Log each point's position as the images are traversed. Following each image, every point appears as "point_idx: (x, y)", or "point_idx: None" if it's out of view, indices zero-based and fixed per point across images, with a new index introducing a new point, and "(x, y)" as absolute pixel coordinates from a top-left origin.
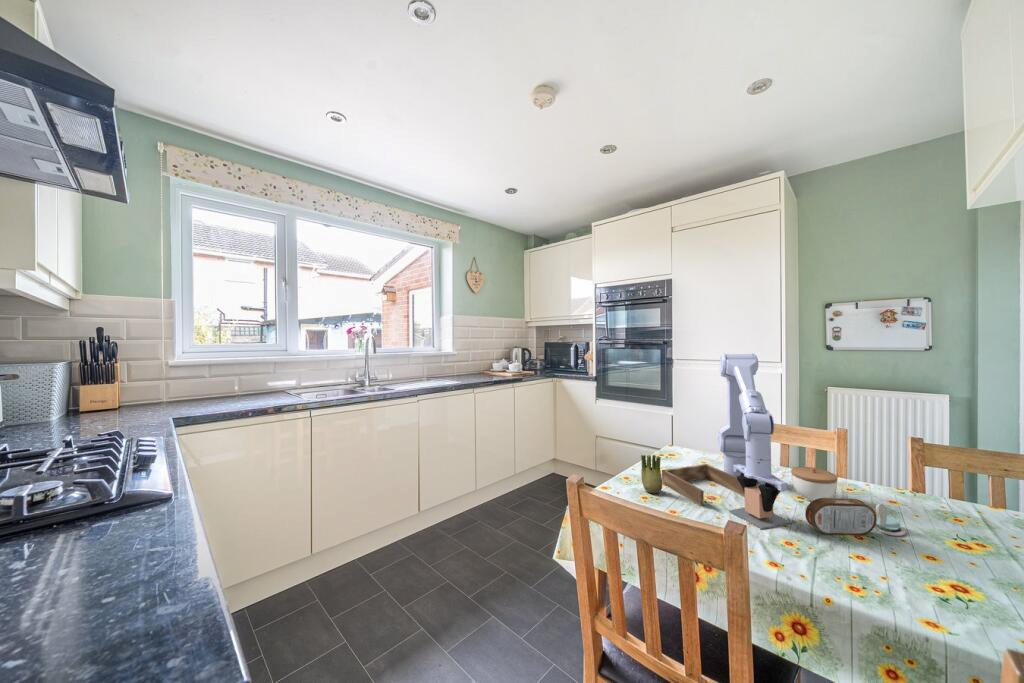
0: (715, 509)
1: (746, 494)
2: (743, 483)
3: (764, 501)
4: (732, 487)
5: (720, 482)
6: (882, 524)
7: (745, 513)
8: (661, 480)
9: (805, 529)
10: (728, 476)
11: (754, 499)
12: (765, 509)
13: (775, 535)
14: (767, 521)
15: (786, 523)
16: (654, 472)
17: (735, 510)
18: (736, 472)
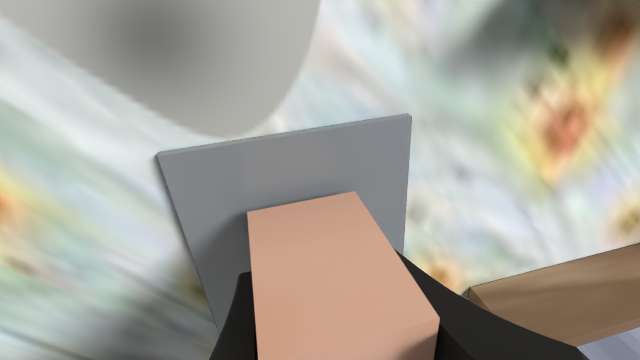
0: (463, 45)
1: (390, 275)
2: (479, 351)
3: (230, 334)
4: (560, 279)
5: (619, 260)
6: None
7: (348, 185)
8: None
9: (158, 347)
10: (629, 311)
11: (305, 287)
12: (238, 285)
13: (79, 187)
14: (239, 239)
15: (210, 308)
16: None
17: (395, 153)
18: (622, 357)
